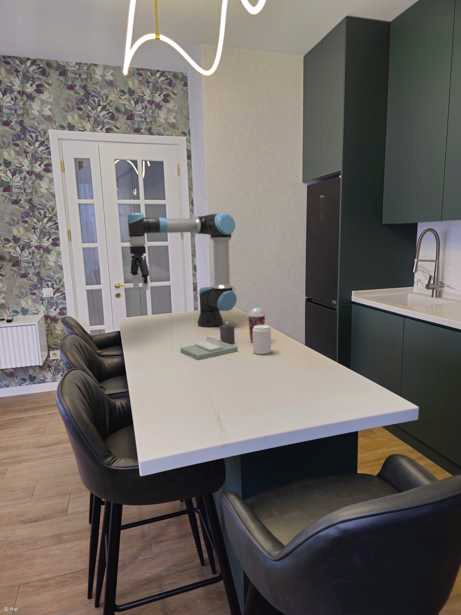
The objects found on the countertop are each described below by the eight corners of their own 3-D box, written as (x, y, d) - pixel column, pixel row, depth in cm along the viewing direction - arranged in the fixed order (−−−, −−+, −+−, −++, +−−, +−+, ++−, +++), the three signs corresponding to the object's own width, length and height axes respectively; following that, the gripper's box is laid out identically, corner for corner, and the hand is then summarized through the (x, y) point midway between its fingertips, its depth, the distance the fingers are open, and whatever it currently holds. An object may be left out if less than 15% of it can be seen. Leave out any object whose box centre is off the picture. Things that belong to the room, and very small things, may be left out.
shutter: (207, 342, 191) (207, 334, 191) (223, 348, 181) (222, 340, 180) (195, 345, 188) (194, 337, 187) (209, 351, 177) (209, 342, 176)
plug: (228, 341, 201) (228, 320, 199) (234, 343, 197) (234, 321, 195) (220, 343, 198) (219, 321, 196) (226, 345, 194) (225, 323, 192)
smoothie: (265, 339, 203) (265, 300, 199) (265, 343, 195) (264, 303, 191) (249, 339, 204) (248, 300, 200) (248, 344, 196) (247, 303, 192)
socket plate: (218, 344, 197) (218, 340, 197) (237, 351, 184) (237, 346, 184) (180, 352, 185) (180, 347, 185) (198, 360, 172) (197, 355, 172)
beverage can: (269, 355, 176) (269, 328, 174) (251, 354, 178) (251, 328, 176) (271, 350, 184) (271, 324, 182) (254, 349, 185) (253, 324, 183)
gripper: (122, 246, 203) (125, 287, 207) (138, 246, 183) (142, 292, 186) (136, 245, 207) (139, 286, 211) (154, 245, 186) (157, 290, 190)
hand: (140, 289), depth 199 cm, fingers open, 13 cm apart
